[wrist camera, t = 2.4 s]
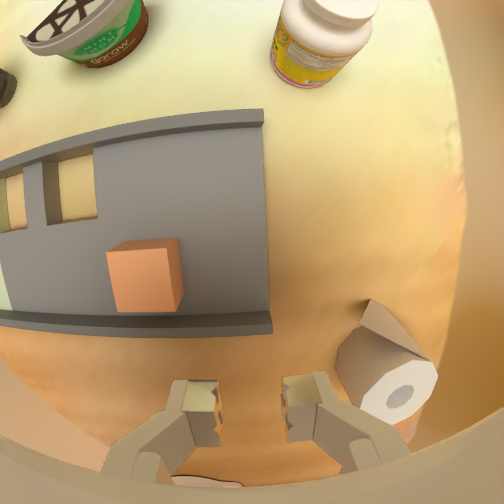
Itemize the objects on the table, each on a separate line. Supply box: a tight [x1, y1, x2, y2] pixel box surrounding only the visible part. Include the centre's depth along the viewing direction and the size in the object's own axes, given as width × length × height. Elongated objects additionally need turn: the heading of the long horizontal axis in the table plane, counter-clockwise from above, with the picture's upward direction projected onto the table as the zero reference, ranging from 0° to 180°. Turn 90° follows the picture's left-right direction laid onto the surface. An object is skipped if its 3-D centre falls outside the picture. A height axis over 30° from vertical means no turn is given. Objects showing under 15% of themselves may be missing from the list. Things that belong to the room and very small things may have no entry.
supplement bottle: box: [270, 0, 378, 88], centre depth 17 cm, size 7×7×13 cm
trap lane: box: [0, 109, 273, 338], centre depth 23 cm, size 38×18×6 cm, turn 93°
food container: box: [20, 0, 148, 68], centre depth 17 cm, size 12×6×10 cm, turn 125°
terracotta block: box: [106, 237, 184, 312], centre depth 22 cm, size 5×5×4 cm
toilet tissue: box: [335, 299, 438, 425], centre depth 27 cm, size 9×13×9 cm
